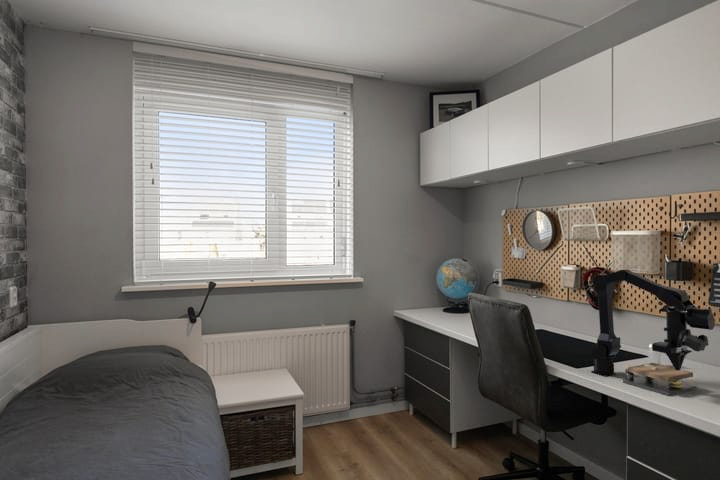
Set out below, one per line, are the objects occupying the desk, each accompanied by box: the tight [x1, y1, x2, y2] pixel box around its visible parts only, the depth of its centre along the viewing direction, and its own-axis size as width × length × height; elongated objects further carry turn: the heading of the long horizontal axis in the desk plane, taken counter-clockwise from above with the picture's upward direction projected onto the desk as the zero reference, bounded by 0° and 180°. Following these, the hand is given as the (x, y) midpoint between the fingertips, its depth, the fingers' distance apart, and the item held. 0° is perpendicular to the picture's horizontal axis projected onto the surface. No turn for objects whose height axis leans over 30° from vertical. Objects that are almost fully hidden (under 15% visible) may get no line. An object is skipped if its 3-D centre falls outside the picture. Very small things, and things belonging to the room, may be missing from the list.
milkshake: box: [648, 343, 662, 365], centre depth 183 cm, size 4×5×10 cm
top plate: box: [624, 362, 694, 382], centre depth 158 cm, size 15×14×3 cm
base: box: [622, 372, 698, 397], centre depth 157 cm, size 16×16×4 cm
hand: (677, 370), depth 151 cm, fingers closed
